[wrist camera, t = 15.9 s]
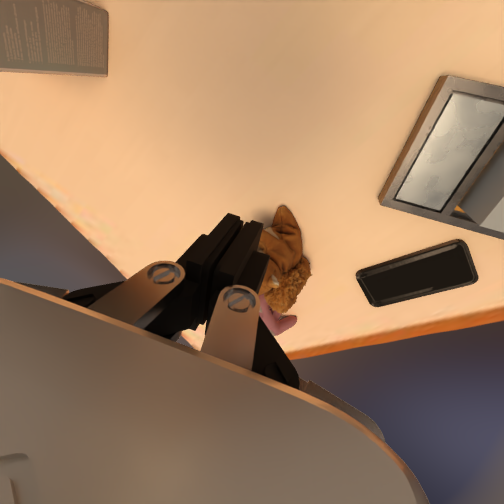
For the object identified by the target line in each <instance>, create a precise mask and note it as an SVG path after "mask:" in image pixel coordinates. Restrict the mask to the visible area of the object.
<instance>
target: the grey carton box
mask: <svg viewBox="0 0 504 504" xmlns="http://www.w3.org/2000/svg"><path fill="white" fill-rule="evenodd" d="M107 62H108V13H107V11H105V10H103V9H101V8H99V7H97V6H95V5H93V4H90V3H88V2H86V1H84V0H0V72H18V73H38V74H58V75H76V76H96V77H107Z"/></svg>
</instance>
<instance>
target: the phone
mask: <svg viewBox="0 0 504 504" xmlns="http://www.w3.org/2000/svg"><path fill="white" fill-rule="evenodd" d="M356 279H357V281H358V283H359V285H360V287H361V288H362V290H363V292H364V294H365V296H366V297H367V299H368V301H369V303H370V304H371V305H372V306H374V307H381V306H385V305H389V304H393V303H397V302H402V301H406V300H410V299H414V298H418V297H422V296H426V295H431V294H435V293H439V292H443V291H447V290H451V289H455V288H459V287H464V286H468V285H471V284H474V283H476V282H477V281H478V274H477V271H476V268H475V266H474V263H473V260H472V257H471V254H470V251H469V248H468V246H467V244H466V243H465V242H464V241H463V240H460V239H455V240H451V241H448V242H445V243H442V244H439V245H436V246H433V247H429V248H426V249H423V250H420V251H417V252H414V253H411V254H408V255H405V256H402V257H398V258H395V259H392V260H389V261H386V262H383V263H380V264H377V265H374V266H371V267H367V268H364V269H361V270H359V271H358V272H357V273H356Z"/></svg>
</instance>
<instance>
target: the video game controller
mask: <svg viewBox="0 0 504 504" xmlns="http://www.w3.org/2000/svg"><path fill="white" fill-rule="evenodd" d="M258 297H259V299H260V310H259V316H260V317H261V319H262V320H263V321H264V323H265V324H266V326H267V327H268V329H269V330H270V332H271V333H272V335H273V336H276V335H279V334H281V333H282V332H284V331H286V330H287V329H289V328H291V327H292V326H294V325H295V324H296V322H297V318H296V317H295V316H289V317H285V318H283V319H280V320H279V318H280V315H281V313H277V311H273V310H272V308H271V307H270V306H269V305H267V304H268V303H267V302H266V300H265V298H264V294H262V295H260V296H258ZM269 308H271V309H269Z"/></svg>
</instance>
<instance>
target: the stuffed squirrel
mask: <svg viewBox="0 0 504 504" xmlns="http://www.w3.org/2000/svg"><path fill="white" fill-rule="evenodd" d="M257 251H258V252H261V253H264V254H267V255H270V259H269V263H268V266H267V270H266V273H265V276H264V279H263V282H262V285H261V288H260V290H259V293H258V296H260V295H262V294H264V298H265V300H266V302H267V303H268V304H267V305H269V306H270V307H271V308H272V310H273V311H277V313H281V314H282V313H284V312H285V313H286V312H287V311H288V309H289V308H291V307H292V305H293V304H295V302H296V299H297V295H298V294H299V293H300V292H301V289H303V286H304V285H305V284H306V282H307V279H308V278H309V277H310V276H311V275H312V274H311V272H310V266H309V264H310V263H308V261H307V259H306V258H304V257H302V241H301V232H300V229H299V227H298V225H297V222H296V221H295V218H294V217H293V215H292V214H291V212H290V211H289V210H288V209H287V208H286V207H285V206H282V207H279V208H278V209H277V212H276V214H275V217H274V220H273V224H272V227H268V228H266V229H265V230H263V229H262V233H261V238H260V242H259V246H258V250H257Z"/></svg>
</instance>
